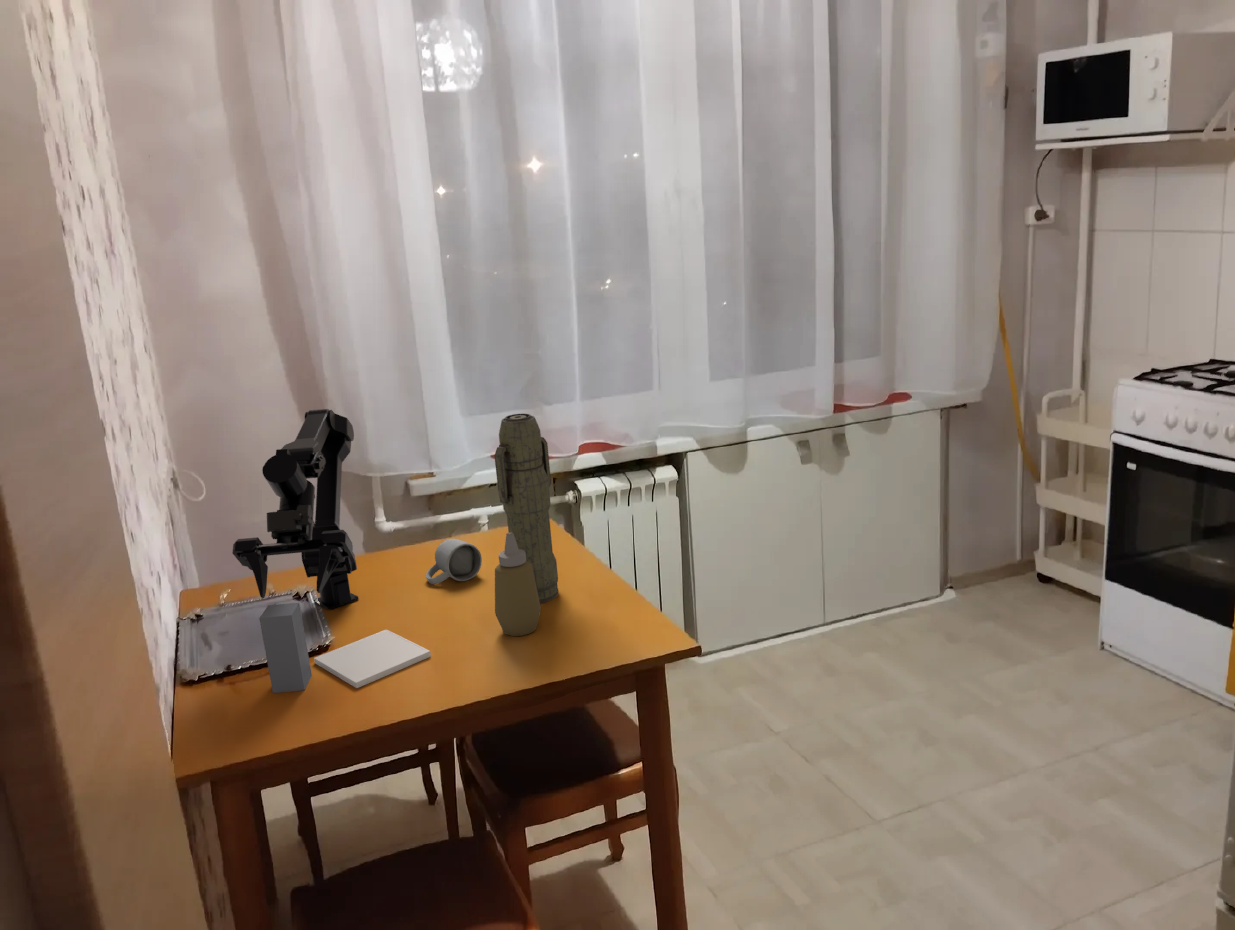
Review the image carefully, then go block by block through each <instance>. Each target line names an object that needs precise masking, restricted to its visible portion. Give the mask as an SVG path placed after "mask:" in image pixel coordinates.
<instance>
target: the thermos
mask: <svg viewBox="0 0 1235 930" xmlns="http://www.w3.org/2000/svg"><path fill="white" fill-rule="evenodd" d="M498 440H499V444H498V446H497V447H496V450H495V453H494V464H495V472H496V474H495V476H496V482H497V491H498V496H499V498H498V499H499V502H500V503H502V509H503V511H504V513H505V514H506V519H507V522H506V523H507V528H508V532H507V533H509V532H512V533H513V534H514V537H515V540H516V543H517V546H518V549H521V550H523V551H525V554H526V561H527V562H529V563H530V564H531V565H532V568H533V573H534V578H535V582H536V587H537V592H538V597H539V602H540V604H543V603H547V602H549V601H552V600H554V599H555V598H557V597H558V596H559V588H558V587H559V586H558V582H559V575H558V574H559V573H558V572H559V571H558V565H557V564H558V563H557V558H556V556H555V554H554V552H553V551H554V550H553V541H552V533H551V532H552V531H551V521H550V520H551V519H550V508H551V496H550V495H551V494H550V486H551V485H552V479H551V467H550V456H549V447H548V441H547V440H546V439H545V437H543V436H542V433H541V429H540V427H539V424H538V422H537V420H536V418H535V416H534V415H531V414H530V413H515V414H514V413H513V414H509V415H507V416H504V418H502V419H501V423H500V427H499V430H498Z"/></svg>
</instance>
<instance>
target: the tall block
mask: <svg viewBox="0 0 1235 930" xmlns="http://www.w3.org/2000/svg"><path fill="white" fill-rule="evenodd" d="M258 619H259V625H260V630H261V631H260V632H261V635H262V640H263V647H264V651H265V652H264V653H265V657H266V663H267V669H268V673H269V678H270V679H269V680H270V685H271V690H272V694H276V693H277V694H279V693H288V692H296V691H297V692H298V691H305V690H306V688H307V686H308V684H309V682H310V680H311V677H312V676H313V675H312V669H311V667H312V666H311V662H310V656H309V652H308V645H307V640H306V634H305V632H306V631H305V627H304V622H303V615H302V609H301V604H300V602H291V603H282V604H281V603H280V604H270V605H269V604H268V605H267V606H266V608H265V609H264V611H262V614H261V615H260V616H259V618H258Z"/></svg>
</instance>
